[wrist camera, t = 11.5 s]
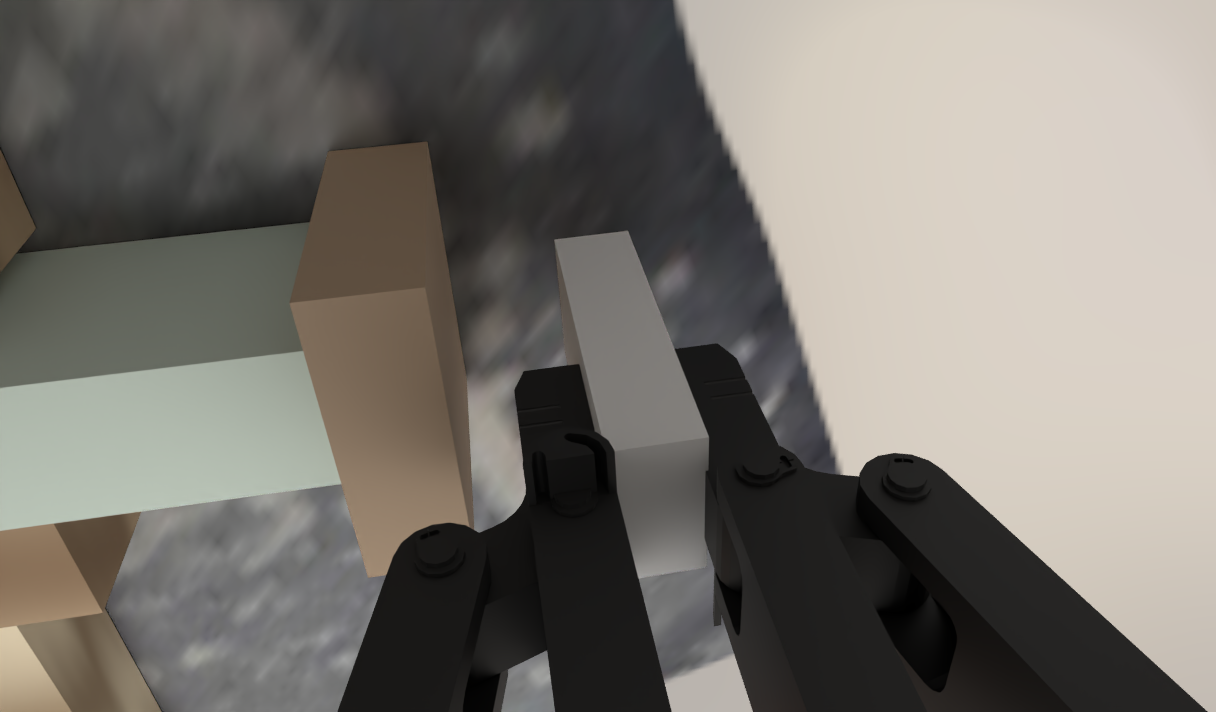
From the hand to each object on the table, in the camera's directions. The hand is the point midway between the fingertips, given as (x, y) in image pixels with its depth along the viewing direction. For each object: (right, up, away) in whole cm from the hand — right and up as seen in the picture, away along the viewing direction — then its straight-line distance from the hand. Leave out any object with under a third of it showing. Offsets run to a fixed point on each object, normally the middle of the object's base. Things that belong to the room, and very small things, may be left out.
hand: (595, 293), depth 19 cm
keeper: (-9, 0, +1) cm, 9 cm away
